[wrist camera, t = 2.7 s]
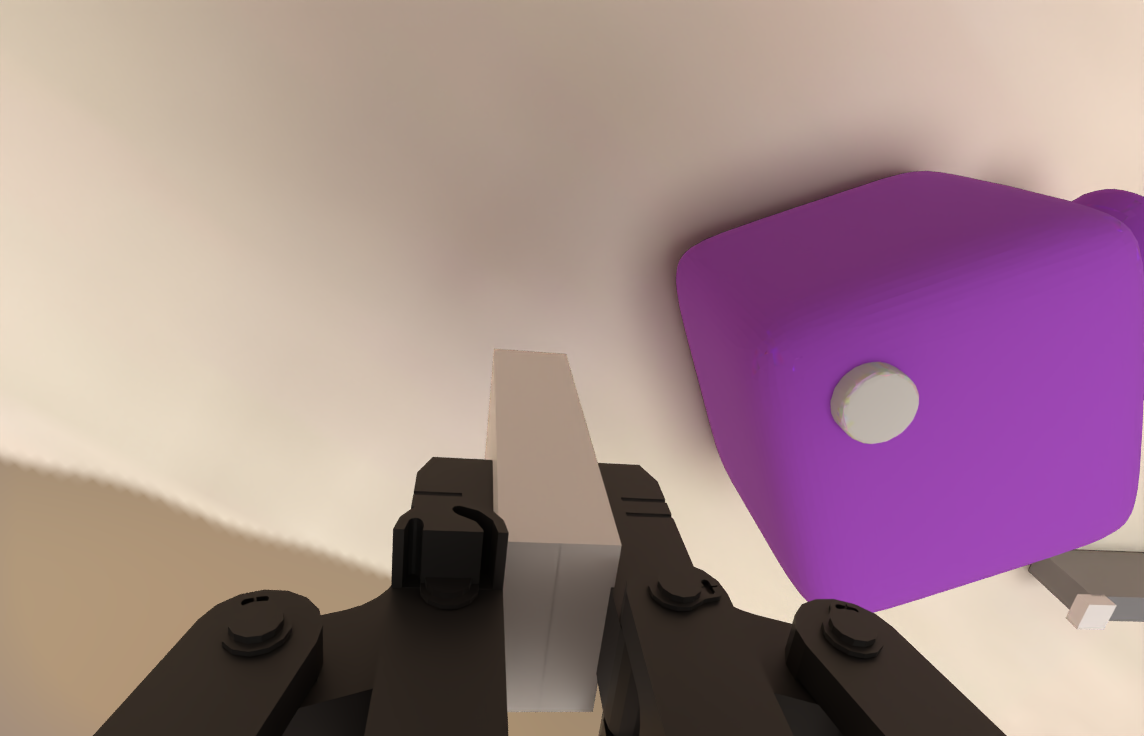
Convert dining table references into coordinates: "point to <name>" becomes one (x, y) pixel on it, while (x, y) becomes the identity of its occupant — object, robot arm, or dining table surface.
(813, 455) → the toy camera
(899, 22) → the dining table surface
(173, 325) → the dining table surface
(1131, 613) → the gray bracket frame
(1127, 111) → the dining table surface
